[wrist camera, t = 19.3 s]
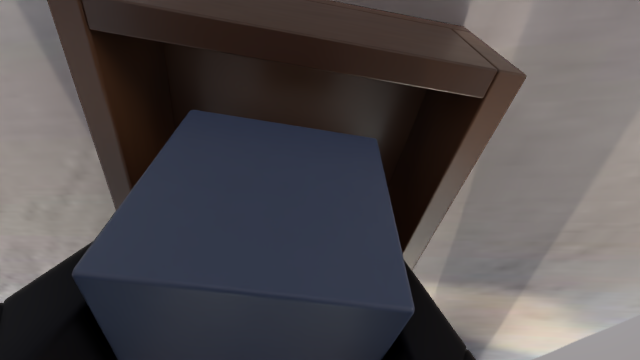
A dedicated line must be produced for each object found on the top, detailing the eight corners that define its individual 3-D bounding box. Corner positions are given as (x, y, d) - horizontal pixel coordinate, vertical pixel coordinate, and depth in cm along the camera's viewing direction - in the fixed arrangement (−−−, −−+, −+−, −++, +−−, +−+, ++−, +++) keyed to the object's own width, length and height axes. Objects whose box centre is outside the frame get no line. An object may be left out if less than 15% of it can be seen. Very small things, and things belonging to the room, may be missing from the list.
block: (339, 252, 10) (345, 414, 7) (202, 234, 10) (136, 398, 7) (378, 137, 8) (417, 312, 4) (190, 107, 7) (66, 273, 4)
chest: (139, -38, 11) (39, -15, 7) (465, 26, 12) (528, 75, 8) (179, 219, 19) (142, 294, 15) (372, 244, 20) (383, 320, 16)
